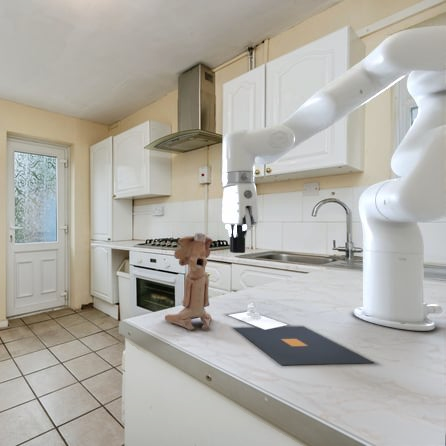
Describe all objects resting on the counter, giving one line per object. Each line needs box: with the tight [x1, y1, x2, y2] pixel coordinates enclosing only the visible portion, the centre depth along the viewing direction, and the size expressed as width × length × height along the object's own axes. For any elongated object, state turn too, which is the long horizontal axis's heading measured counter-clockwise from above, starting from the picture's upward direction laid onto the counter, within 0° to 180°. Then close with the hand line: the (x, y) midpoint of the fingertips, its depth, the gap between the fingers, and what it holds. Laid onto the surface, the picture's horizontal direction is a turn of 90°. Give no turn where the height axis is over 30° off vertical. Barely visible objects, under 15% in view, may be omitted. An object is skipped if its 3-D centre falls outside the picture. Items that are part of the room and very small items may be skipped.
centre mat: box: [233, 325, 375, 366], centre depth 50 cm, size 15×15×1 cm
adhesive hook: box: [228, 302, 288, 330], centre depth 63 cm, size 3×3×3 cm
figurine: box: [164, 232, 213, 331], centre depth 60 cm, size 11×8×20 cm
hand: (237, 252), depth 70 cm, fingers closed
